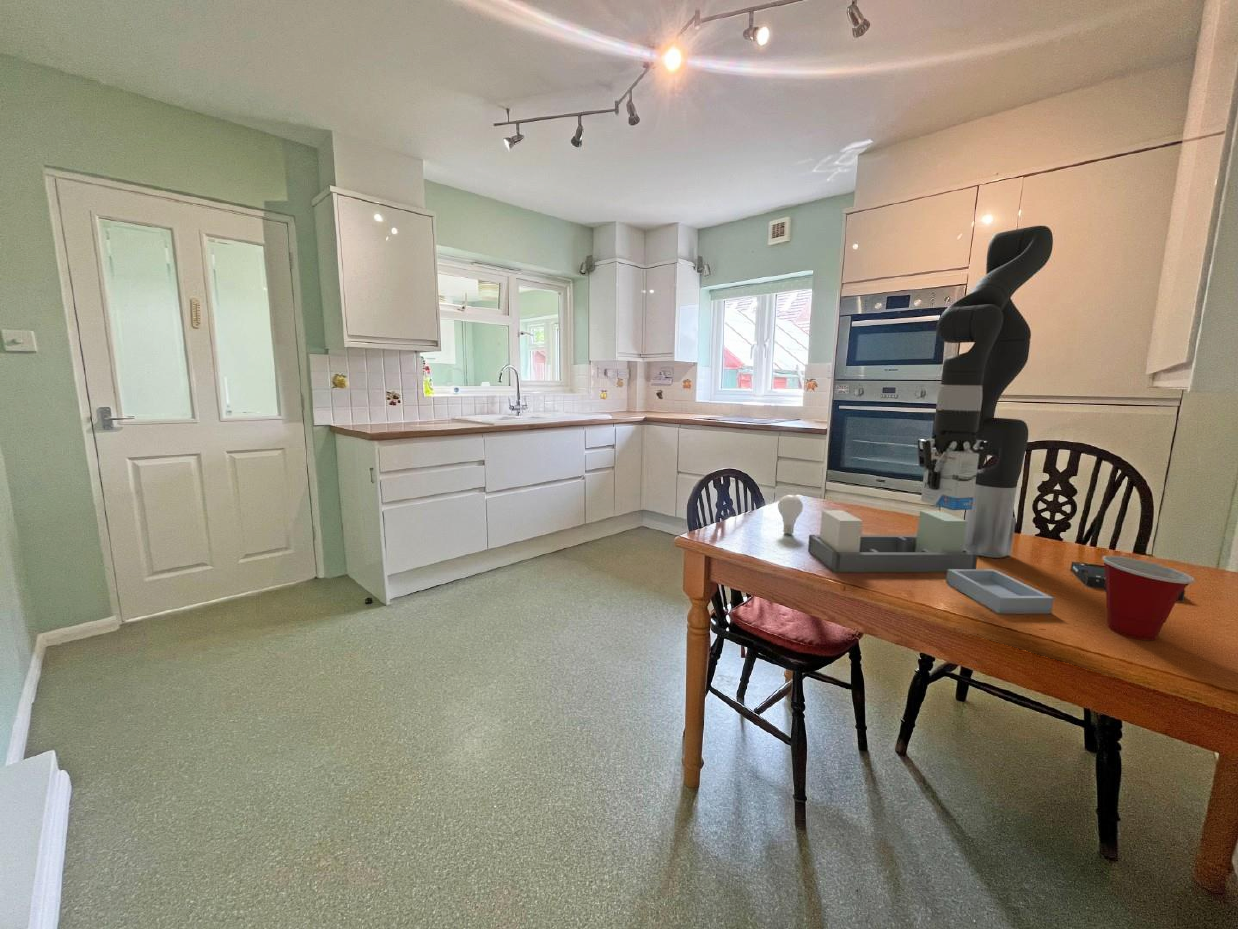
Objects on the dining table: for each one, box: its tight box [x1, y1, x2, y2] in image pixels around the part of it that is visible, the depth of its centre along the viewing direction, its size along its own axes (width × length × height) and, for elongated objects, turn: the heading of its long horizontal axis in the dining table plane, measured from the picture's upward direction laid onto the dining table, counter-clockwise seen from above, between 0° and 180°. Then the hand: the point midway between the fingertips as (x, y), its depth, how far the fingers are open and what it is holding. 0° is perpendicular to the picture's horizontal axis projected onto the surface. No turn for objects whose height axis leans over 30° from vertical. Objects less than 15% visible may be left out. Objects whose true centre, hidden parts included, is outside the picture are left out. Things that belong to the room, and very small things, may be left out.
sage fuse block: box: [915, 510, 967, 552], centre depth 117 cm, size 5×9×11 cm, turn 3°
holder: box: [807, 534, 979, 573], centre depth 117 cm, size 32×14×4 cm, turn 93°
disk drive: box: [1070, 561, 1186, 602], centre depth 106 cm, size 10×3×15 cm
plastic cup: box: [1101, 555, 1195, 641], centre depth 84 cm, size 11×11×12 cm
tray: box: [945, 568, 1055, 615], centre depth 98 cm, size 10×14×3 cm
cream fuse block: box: [819, 509, 863, 552], centre depth 116 cm, size 5×9×11 cm, turn 3°
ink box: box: [920, 447, 979, 511], centre depth 104 cm, size 8×5×12 cm, turn 11°
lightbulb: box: [777, 494, 804, 535], centre depth 136 cm, size 6×6×11 cm
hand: (947, 488), depth 105 cm, fingers closed on ink box, 5 cm apart
